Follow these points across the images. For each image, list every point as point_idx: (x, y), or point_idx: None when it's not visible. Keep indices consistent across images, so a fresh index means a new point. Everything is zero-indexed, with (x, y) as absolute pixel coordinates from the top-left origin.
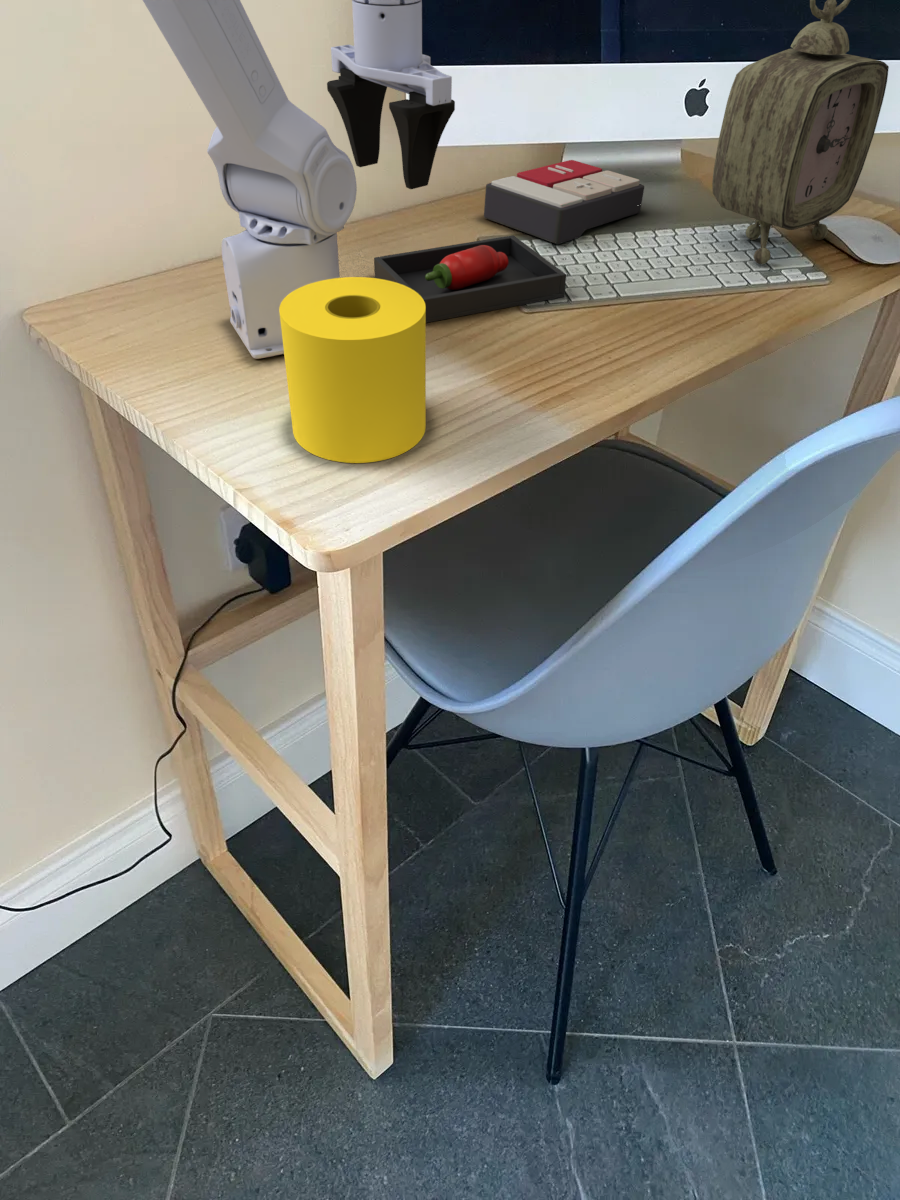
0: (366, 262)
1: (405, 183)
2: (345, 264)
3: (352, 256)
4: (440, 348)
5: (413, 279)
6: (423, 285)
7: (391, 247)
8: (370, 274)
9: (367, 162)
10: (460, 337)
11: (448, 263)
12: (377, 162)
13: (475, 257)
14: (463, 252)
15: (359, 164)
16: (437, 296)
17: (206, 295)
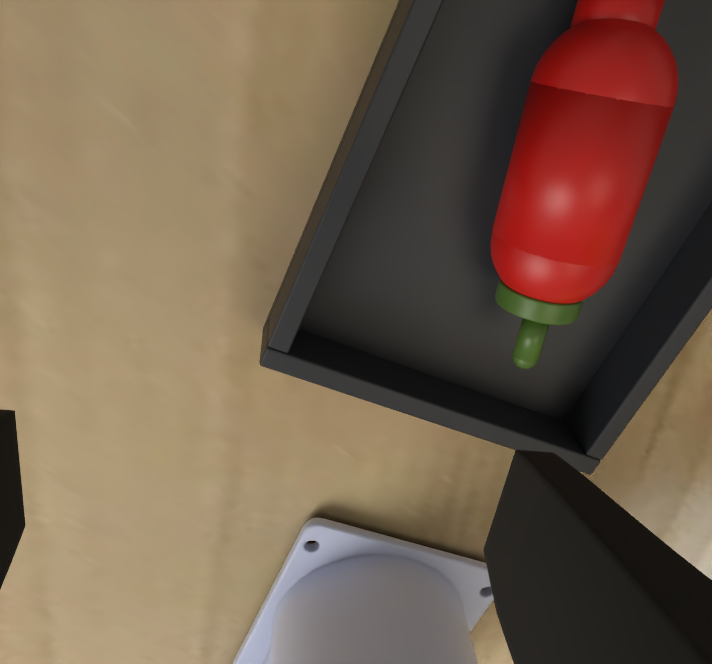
0: (120, 250)
1: (491, 572)
2: (89, 312)
3: (38, 248)
4: (677, 472)
5: (380, 269)
6: (438, 279)
7: (48, 67)
8: (217, 308)
9: (13, 492)
10: (693, 407)
11: (572, 299)
12: (12, 413)
13: (637, 193)
14: (594, 220)
15: (16, 540)
16: (622, 422)
17: (47, 655)
